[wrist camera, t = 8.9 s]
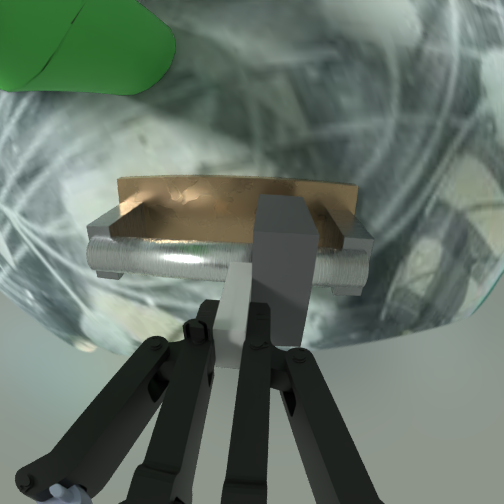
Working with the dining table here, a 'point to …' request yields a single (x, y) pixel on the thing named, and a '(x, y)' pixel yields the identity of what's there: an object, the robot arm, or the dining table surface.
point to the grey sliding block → (284, 264)
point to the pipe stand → (222, 228)
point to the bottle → (82, 46)
